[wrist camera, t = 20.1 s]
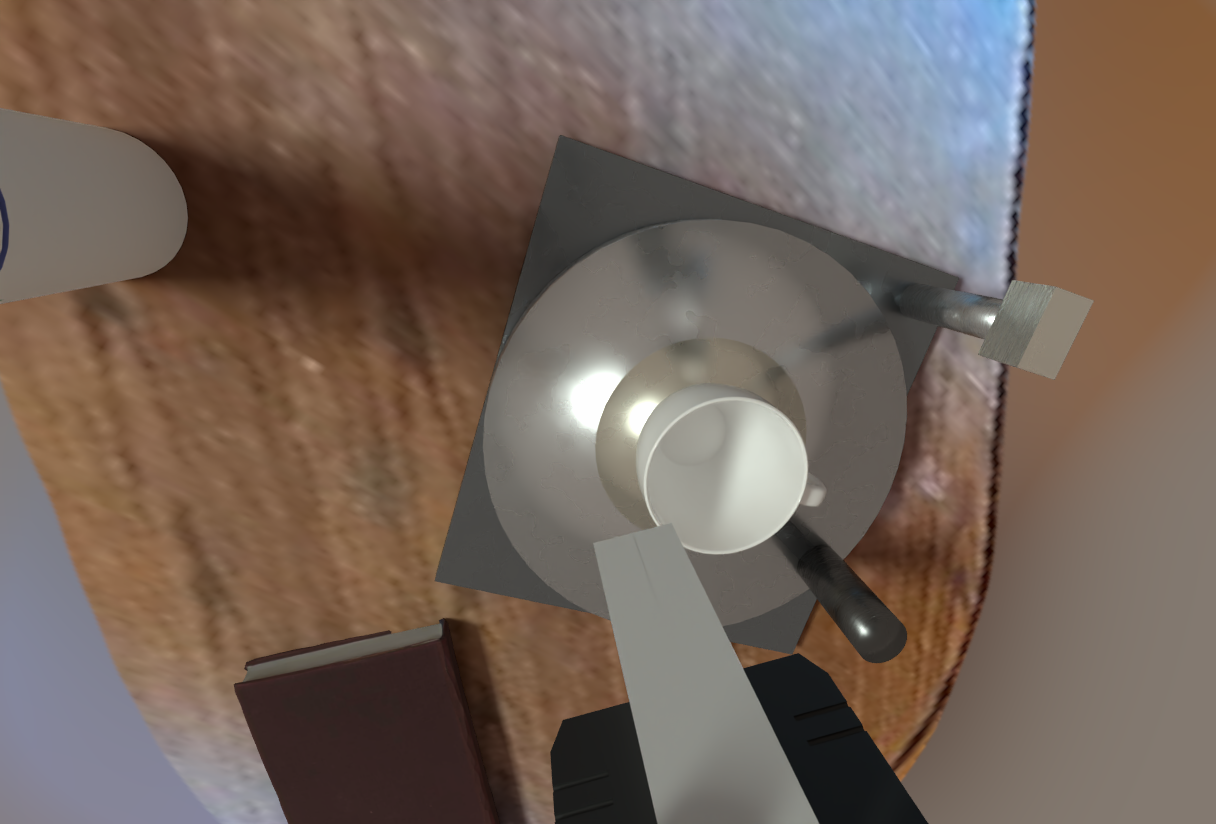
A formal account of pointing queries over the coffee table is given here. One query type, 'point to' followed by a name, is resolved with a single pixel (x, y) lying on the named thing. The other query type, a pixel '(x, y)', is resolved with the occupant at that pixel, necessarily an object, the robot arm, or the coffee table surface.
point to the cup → (723, 468)
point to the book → (369, 731)
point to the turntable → (683, 356)
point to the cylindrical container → (81, 207)
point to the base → (642, 196)
